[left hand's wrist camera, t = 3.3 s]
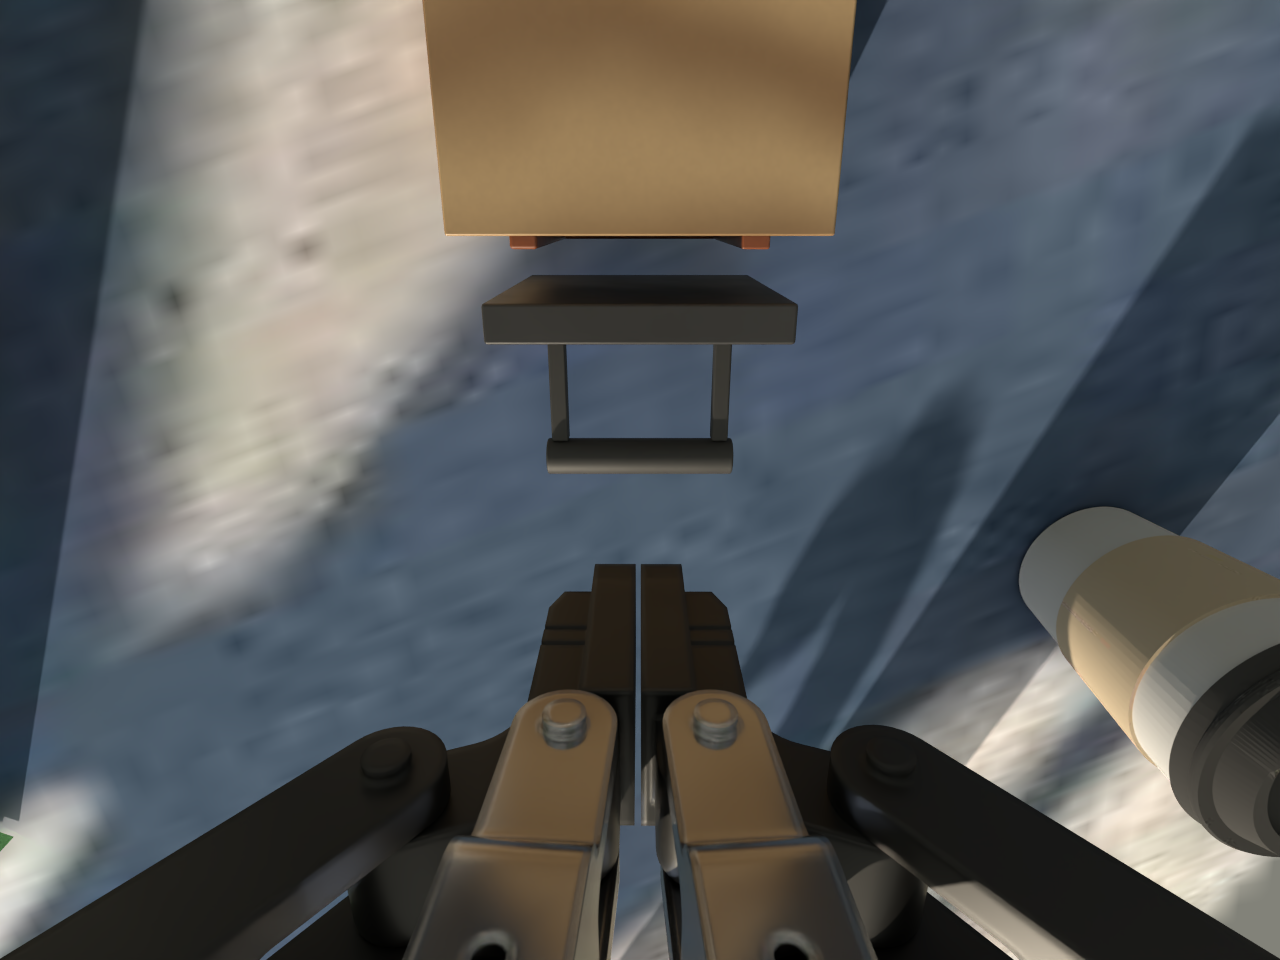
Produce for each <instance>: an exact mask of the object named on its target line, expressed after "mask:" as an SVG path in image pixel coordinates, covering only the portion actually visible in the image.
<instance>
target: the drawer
mask: <svg viewBox="0 0 1280 960" xmlns="http://www.w3.org/2000/svg"><path fill="white" fill-rule="evenodd" d="M509 238H510V247H511V248H512V249H536V248H539V247H542V246H545V245H548V244H551V243H553V242H556V241H559V240H562V239H716V240H719V241H722V242H725V243H728V244H731V245H734V246H736V247H739V248H742V249H769V247H770V236H509ZM797 313H798V305H797V304H796V303H794V302H792V301H791V300H789V299H787V298H786V297H784V296H782V295H780V294H779V293H777V292H775V291H773V290H772V289H770V288H768V287H767V286H765V285H763V284H761V283H760V282H758V281H756V280H755V279H753V278H751V277H749V276H748V275H532V276H530V277H528V278H527V279H525V280H523V281H522V282H520V283H518V284H516V285H515V286H513V287H511V288H510V289H508V290H506V291H504V292H503V293H501V294H499V295H498V296H496V297H494V298H492V299H491V300H489V301H487V302H485V303H484V304H482V319H483V332H484V342H485V344H548V362H549V382H550V403H551V424H552V438H549V439H548V442H547V451H546V460H547V470H548V473H550V474H730V473H731V472H732V467H733V444H732V440H731V439H730V438H727V436H728V415H729V394H730V373H731V352H732V344H794V343H795V338H796V325H797ZM566 344H713V370H712V396H711V423H710V437H711V438H569V436H570V432H569V406H568V380H567V354H566Z"/></svg>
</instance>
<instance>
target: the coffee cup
mask: <svg viewBox="0 0 1280 960" xmlns="http://www.w3.org/2000/svg"><path fill="white" fill-rule="evenodd" d="M1019 587H1020V592H1021V595H1022V598H1023V600H1024V602H1025V603H1026V605H1027V606H1028V608H1029V609H1030V610H1031V611H1032V612H1033V614H1034V615H1035V616H1036V617H1037V619H1038V620H1039V621H1040V622H1041V624H1042V625H1043V626H1044V627H1045V629H1046V630H1047V631H1048V632H1049V633H1050V635H1051V636H1052V637H1053V638H1054V640H1055V641H1056V642H1057V643H1058V645H1059V647H1060V650H1061V652H1062V654H1063V655H1064V657H1065V658H1066V659H1067V661H1068V662H1069V663H1070V664H1071V666H1072V667H1073V668H1074V669H1075V671H1076V672H1077V673H1078V674H1079V676H1080V677H1081V678H1082V679H1083V681H1084V682H1085V683H1086V684H1087V686H1088V687H1089V688H1090V689H1091V691H1092V692H1093V693H1094V694H1095V696H1096V697H1097V698H1098V699H1099V701H1100V702H1101V703H1102V704H1103V706H1104V707H1105V708H1106V709H1107V711H1108V712H1109V713H1110V714H1111V716H1112V717H1113V718H1114V719H1115V721H1116V722H1117V723H1118V724H1119V726H1120V727H1121V728H1122V729H1123V731H1124V732H1125V733H1126V734H1127V736H1128V737H1129V738H1130V739H1131V741H1132V742H1133V743H1134V744H1135V746H1136V747H1137V748H1138V749H1139V751H1140V752H1141V753H1142V754H1143V755H1144V757H1145V758H1146V759H1147V760H1149V761H1150V762H1151V763H1152V764H1154V765H1155V766H1156V767H1158V768H1159V769H1160V771H1161V772H1162V773H1163V774H1164V775H1165V777H1166V778H1167V779H1168V780H1169V782H1170V783H1171V787H1172V790H1173V793H1174V795H1175V797H1176V799H1177V801H1178V802H1179V804H1180V805H1181V807H1182V808H1183V809H1184V810H1185V811H1186V812H1187V813H1188V814H1189V815H1190V816H1191V817H1192V818H1193V819H1194V820H1196V821H1197V822H1199V823H1200V824H1202V826H1203V827H1204V828H1205V829H1206V830H1207V831H1208V832H1209V833H1210V834H1211V835H1212V836H1213V837H1215V838H1216V839H1217V840H1219V841H1220V842H1222V843H1224V844H1226V845H1228V846H1230V847H1232V848H1235V849H1237V850H1240V851H1244V852H1248V853H1252V854H1256V855H1262V856H1271V857H1280V580H1279V579H1277V578H1275V577H1273V576H1271V575H1269V574H1267V573H1265V572H1262V571H1260V570H1258V569H1256V568H1254V567H1252V566H1250V565H1248V564H1246V563H1244V562H1241V561H1239V560H1237V559H1235V558H1233V557H1231V556H1229V555H1227V554H1225V553H1223V552H1221V551H1218V550H1216V549H1214V548H1212V547H1210V546H1208V545H1206V544H1204V543H1202V542H1199V541H1197V540H1194V539H1191V538H1187V537H1182V536H1179V535H1177V534H1175V533H1173V532H1171V531H1168V530H1166V529H1164V528H1162V527H1160V526H1158V525H1156V524H1154V523H1152V522H1150V521H1148V520H1146V519H1144V518H1142V517H1140V516H1138V515H1136V514H1134V513H1131V512H1129V511H1127V510H1124V509H1120V508H1115V507H1094V508H1088V509H1084V510H1080V511H1077V512H1074V513H1072V514H1069V515H1067V516H1065V517H1063V518H1061V519H1060V520H1058V521H1056V522H1055V523H1053V524H1052V525H1051V526H1049V527H1048V528H1047V529H1046V530H1044V531H1043V532H1042V533H1041V534H1040V535H1039V536H1038V537H1037V539H1036V540H1035V541H1034V542H1033V543H1032V545H1031V546H1030V548H1029V549H1028V551H1027V553H1026V555H1025V557H1024V559H1023V562H1022V565H1021V568H1020V573H1019Z"/></svg>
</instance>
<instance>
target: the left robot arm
mask: <svg viewBox="0 0 1280 960" xmlns="http://www.w3.org/2000/svg"><path fill="white" fill-rule="evenodd" d="M635 698H636V564H595V568H594V576H593V584H592V592H564V593H563V594H562V595H561V596H560V597H559V598H558V599H557V600H556V601H555V602H554V603H553V604H552V605H551V606H550V607H549V611H548V616H547V620H546V624H545V630H544V633H543V637H542V645H541V646H540V650H539V655H538V659H537V663H536V668H535V672H534V676H533V681H532V685H531V689H530V694H529V698H528V702H527V703H526V704H525V705H524V706H523V707H522V708H520V710H519V711H518V712H517V713H516V715H515V717H514V719H513V721H512V724H511V727H509V728H508V729H507V730H505V731H504V732H502V733H500V734H498V735H497V736H495V737H493V738H490V739H488V740H485V741H482V742H479V743H476V744H472V745H468V746H463V747H459V748H455V749H451V750H447V751H446V748H445V745H444V743H443V742H442V740H441V739H440V738H439V737H438V736H437V735H435V734H434V733H432V732H430V731H428V730H425V729H422V728H417V727H393V728H388V729H383V730H380V731H377V732H374V733H371V734H369V735H367V736H364V737H363V738H361V739H359V740H357V741H355V742H354V743H352V744H350V745H349V746H347V747H345V748H344V749H342V750H341V751H339V752H337V753H336V754H334V755H332V756H331V757H329V758H327V759H326V760H324V761H323V762H321V763H319V764H318V765H316V766H314V767H313V768H311V769H309V770H308V771H306V772H305V773H303V774H301V775H300V776H298V777H296V778H295V779H293V780H292V781H290V782H288V783H287V784H285V785H283V786H282V787H280V788H278V789H277V790H275V791H274V792H272V793H270V794H269V795H267V796H265V797H264V798H262V799H260V800H259V801H257V802H256V803H254V804H252V805H251V806H249V807H247V808H246V809H244V810H242V811H241V812H239V813H238V814H236V815H234V816H233V817H231V818H229V819H228V820H226V821H225V822H223V823H221V824H220V825H218V826H216V827H215V828H213V829H211V830H210V831H208V832H207V833H205V834H203V835H202V836H200V837H198V838H197V839H195V840H193V841H192V842H190V843H189V844H187V845H185V846H184V847H182V848H180V849H179V850H177V851H176V852H174V853H172V854H171V855H169V856H167V857H166V858H164V859H162V860H161V861H159V862H158V863H156V864H154V865H153V866H151V867H149V868H148V869H146V870H144V871H143V872H141V873H140V874H138V875H136V876H135V877H133V878H131V879H130V880H128V881H126V882H125V883H123V884H122V885H120V886H118V887H117V888H115V889H113V890H112V891H110V892H109V893H107V894H105V895H104V896H102V897H100V898H99V899H97V900H95V901H94V902H92V903H91V904H89V905H87V906H86V907H84V908H82V909H81V910H79V911H77V912H76V913H74V914H73V915H71V916H69V917H68V918H66V919H64V920H63V921H61V922H60V923H58V924H56V925H55V926H53V927H51V928H50V929H48V930H46V931H45V932H43V933H42V934H40V935H38V936H37V937H35V938H33V939H32V940H30V941H28V942H27V943H25V944H24V945H22V946H20V947H19V948H17V949H15V950H14V951H12V952H10V953H9V954H7V955H6V956H4V957H2V958H1V959H0V960H260V959H261V958H262V957H263V956H264V955H265V954H266V953H267V952H268V951H269V950H270V949H272V948H273V947H274V946H275V945H277V944H278V943H279V942H280V941H282V940H283V939H284V938H286V937H287V936H288V935H290V934H291V933H292V932H293V931H295V930H296V929H297V928H299V927H300V926H301V925H302V924H304V923H305V922H306V921H308V920H309V919H310V918H311V917H313V916H314V915H315V914H317V913H318V912H319V911H320V910H322V909H323V908H324V907H326V906H327V905H328V904H329V903H331V902H332V901H333V900H335V899H336V898H337V897H338V896H340V895H341V894H342V893H344V892H345V891H346V890H348V896H347V897H346V898H345V899H343V900H342V901H341V902H339V903H338V904H337V905H336V906H334V907H333V908H332V909H331V910H329V911H328V912H327V913H325V914H324V915H323V916H322V917H320V918H319V919H318V920H316V921H315V922H314V923H313V924H311V925H310V926H309V927H308V928H306V929H305V930H304V931H302V932H301V933H300V934H299V935H297V936H296V937H295V938H294V939H292V940H291V941H290V942H288V943H287V944H286V945H285V946H283V947H282V948H281V949H280V950H278V951H277V952H276V953H274V954H273V955H272V956H271V957H269V958H268V959H267V960H611V951H612V942H613V933H614V924H615V915H616V906H617V897H618V888H619V874H620V872H619V838H620V825H634V805H635ZM641 826H655V829H656V852H657V857H658V860H659V863H660V864H661V871H660V874H661V888H662V897H663V906H664V915H665V924H666V933H667V942H668V951H669V960H1013V959H1012V958H1011V957H1009V956H1008V955H1007V954H1006V953H1004V952H1003V951H1002V950H1000V949H999V948H998V947H997V946H995V945H994V944H993V943H992V942H990V941H989V940H988V939H986V938H985V937H984V936H983V935H981V934H980V933H979V932H978V931H976V930H975V929H974V928H972V927H971V926H970V925H969V924H967V923H966V922H965V921H963V920H962V919H961V918H960V917H958V916H957V915H956V914H955V913H953V912H952V911H951V910H949V909H948V908H947V907H946V906H944V905H943V904H942V903H941V902H939V901H938V900H937V899H935V898H934V897H933V896H932V895H930V894H929V893H928V892H927V889H928V886H929V887H930V888H931V889H933V890H934V891H935V892H936V893H938V894H939V895H940V896H942V897H943V898H944V899H945V900H947V901H948V902H949V903H951V904H952V905H953V906H954V907H956V908H957V909H958V910H960V911H961V912H962V913H963V914H965V915H966V916H967V917H969V918H970V919H971V920H972V921H974V922H975V923H976V924H978V925H979V926H980V927H981V928H983V929H984V930H985V931H987V932H988V933H989V934H990V935H992V936H993V937H994V938H996V939H997V940H998V941H999V942H1001V943H1002V944H1003V945H1005V946H1006V947H1007V948H1008V949H1009V950H1010V951H1011V952H1012V953H1013V954H1014V955H1015V956H1016V957H1017V958H1018V959H1019V960H1280V959H1279V958H1278V957H1276V956H1274V955H1273V954H1271V953H1269V952H1268V951H1266V950H1265V949H1263V948H1261V947H1260V946H1258V945H1256V944H1255V943H1253V942H1252V941H1250V940H1248V939H1247V938H1245V937H1243V936H1242V935H1240V934H1238V933H1237V932H1235V931H1234V930H1232V929H1230V928H1229V927H1227V926H1225V925H1224V924H1222V923H1220V922H1219V921H1217V920H1216V919H1214V918H1212V917H1211V916H1209V915H1207V914H1206V913H1204V912H1202V911H1201V910H1199V909H1198V908H1196V907H1194V906H1193V905H1191V904H1189V903H1188V902H1186V901H1185V900H1183V899H1181V898H1180V897H1178V896H1176V895H1175V894H1173V893H1171V892H1170V891H1168V890H1167V889H1165V888H1163V887H1162V886H1160V885H1158V884H1157V883H1155V882H1153V881H1152V880H1150V879H1149V878H1147V877H1145V876H1144V875H1142V874H1140V873H1139V872H1137V871H1136V870H1134V869H1132V868H1131V867H1129V866H1127V865H1126V864H1124V863H1122V862H1121V861H1119V860H1118V859H1116V858H1114V857H1113V856H1111V855H1109V854H1108V853H1106V852H1104V851H1103V850H1101V849H1100V848H1098V847H1096V846H1095V845H1093V844H1091V843H1090V842H1088V841H1086V840H1085V839H1083V838H1082V837H1080V836H1078V835H1077V834H1075V833H1073V832H1072V831H1070V830H1069V829H1067V828H1065V827H1064V826H1062V825H1060V824H1059V823H1057V822H1055V821H1054V820H1052V819H1051V818H1049V817H1047V816H1046V815H1044V814H1042V813H1041V812H1039V811H1037V810H1036V809H1034V808H1033V807H1031V806H1029V805H1028V804H1026V803H1024V802H1023V801H1021V800H1020V799H1018V798H1016V797H1015V796H1013V795H1011V794H1010V793H1008V792H1006V791H1005V790H1003V789H1002V788H1000V787H998V786H997V785H995V784H993V783H992V782H990V781H988V780H987V779H985V778H984V777H982V776H980V775H979V774H977V773H975V772H974V771H972V770H970V769H969V768H967V767H966V766H964V765H962V764H961V763H959V762H957V761H956V760H954V759H953V758H951V757H949V756H948V755H946V754H944V753H943V752H941V751H939V750H938V749H936V748H935V747H933V746H931V745H930V744H928V743H926V742H925V741H923V740H921V739H920V738H918V737H916V736H914V735H912V734H910V733H907V732H905V731H903V730H899V729H896V728H893V727H887V726H881V725H863V726H857V727H854V728H851V729H848V730H846V731H844V732H843V733H841V734H840V735H839V736H838V737H837V738H836V739H835V741H834V742H833V745H832V748H831V751H827V750H823V749H819V748H815V747H810V746H806V745H802V744H799V743H795V742H792V741H789V740H787V739H784V738H782V737H780V736H778V735H776V734H774V733H773V732H771V730H770V727H769V724H768V721H767V719H766V717H765V715H764V713H763V712H762V711H761V710H760V708H758V707H757V706H756V705H755V704H754V703H753V702H751V701H750V700H748V699H747V696H746V692H745V687H744V683H743V678H742V674H741V669H740V665H739V660H738V655H737V651H736V646H735V645H734V637H733V633H732V630H731V624H730V619H729V615H728V610H727V607H726V606H725V605H724V604H723V603H722V602H721V601H720V600H719V599H718V598H717V597H716V596H715V595H714V594H713V593H712V592H685V590H684V582H683V574H682V566H681V564H641Z"/></svg>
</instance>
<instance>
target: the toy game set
mask: <svg viewBox="0 0 1280 960" xmlns="http://www.w3.org/2000/svg"><path fill="white" fill-rule="evenodd" d="M12 838H13V837H12V836H9V835H6V834H3V833H0V851H1V850H2V849H3V848H4V847H5V846H6V845H7V843H8V842H9V841H10V840H11V839H12Z"/></svg>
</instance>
